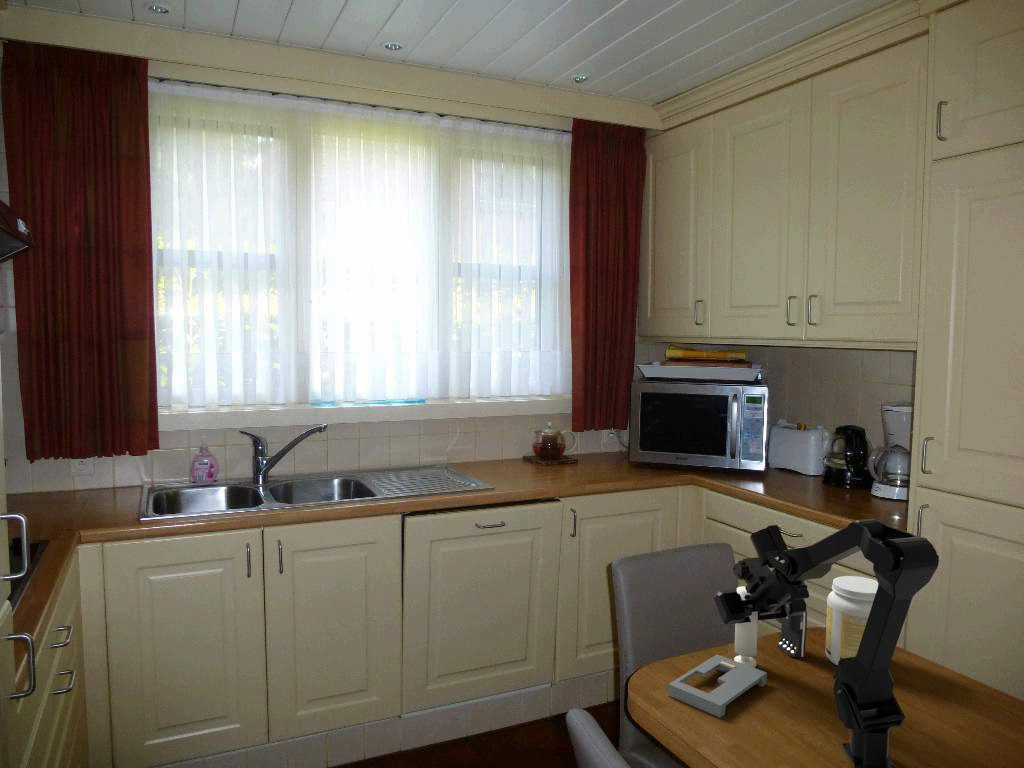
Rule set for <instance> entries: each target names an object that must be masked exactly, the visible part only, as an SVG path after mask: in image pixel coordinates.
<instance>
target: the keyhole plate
mask: <svg viewBox="0 0 1024 768" xmlns="http://www.w3.org/2000/svg"><path fill="white" fill-rule="evenodd" d="M716 669H717V671H719V670H720V671H719V672H722V673H724V672H725V673H724V674H722V675H721V676H719V677H718V678H717V683H718V684H720V685H718V686H717V687H715V688H714V689H713V690H712V691H710V692H705V691H703V690H701V689H698V688H696V687H693V686H692V685H688V684H686V683H684V682H685V681H687V680H689V679H690V678H692V677H693V676H695V675H699V676H701V677H703V678H705V677H706V676H708V675H709V674H710V673H712V672H714V671H715V670H716ZM767 676H768V672H766V671H763V670H760V669H759V668H756V667H755V668H753V667H750V666H747V665H745V664H742V663H739V662H736V661H734V659H731V658H728V657H725V656H723V655H719V654H715V655H713V656H712V657H710V658H709V659H707V660H705V661H704V662H702V663H701V664H699V665H698V666H696V667H694V668H693V669H691V670H689V671H687V672H686V673H684V674H682V675H681V676H680V677H677V678H676V679H674V680H673V681H671V682H670V683H668V694H667V696H668V697H670V698H674V699H675V700H677V701H679V702H683V703H685V704H687V705H689V706H692V707H694V708H696V709H699V710H701V711H703V712H706V713H708V714H710V715H713V716H715V717H716V718H720V719H721V718H722V717H723V716H725V715H726V706H727V705H729V704H730V703H731V702H733V701H734V700H735V699H737V698H738V697H740V696H741V695H742V694H744V693H745V692H747V691H748V690H749V689H750V688H752V687H754V686H756V684H757V686H759V685H760V686H759V687H761V686H763V687H764V686H765V685H767V678H768V677H767Z"/></svg>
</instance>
